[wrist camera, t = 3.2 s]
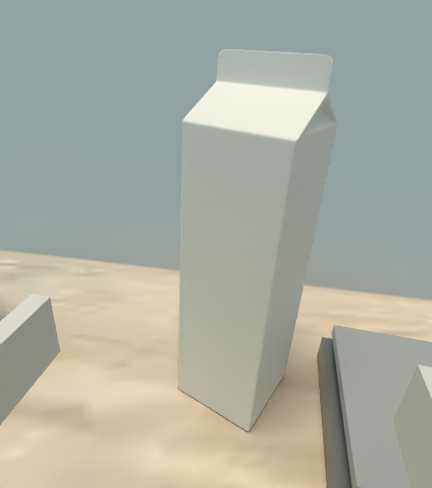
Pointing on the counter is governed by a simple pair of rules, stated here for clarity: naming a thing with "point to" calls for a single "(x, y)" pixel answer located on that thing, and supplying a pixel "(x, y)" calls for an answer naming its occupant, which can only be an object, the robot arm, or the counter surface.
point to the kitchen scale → (365, 405)
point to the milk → (249, 223)
